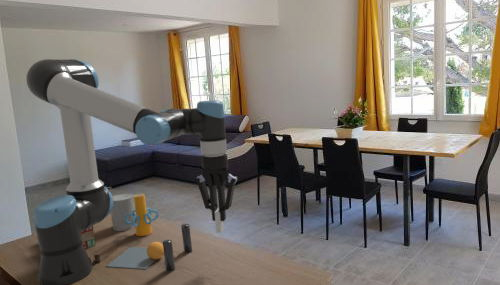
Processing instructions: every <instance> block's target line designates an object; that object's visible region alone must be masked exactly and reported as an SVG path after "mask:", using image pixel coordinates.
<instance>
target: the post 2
mask: <svg viewBox="0 0 500 285" xmlns="http://www.w3.org/2000/svg"><path fill="white" fill-rule="evenodd" d="M190 227H191V226H190V224H189V223H184V224H181V235H182V243H183V244H182V246H183V252H184V254H189V253H192V252H193V247H192V246H193V245H192V237H191V228H190Z"/></svg>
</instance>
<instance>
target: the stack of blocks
mask: <svg viewBox="0 0 500 285" xmlns="http://www.w3.org/2000/svg"><path fill="white" fill-rule="evenodd" d="M81 237H82V243H83V247H84V248H85V250H87V249H90V248H92V247H95V246H97V245H96V240H95V231H94V225H93V226H91V227H89V228H88V229H86V230H84V231H82V232H81Z"/></svg>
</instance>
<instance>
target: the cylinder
mask: <svg viewBox="0 0 500 285" xmlns="http://www.w3.org/2000/svg"><path fill="white" fill-rule="evenodd" d="M133 195H134V204H135V210H133V212H132V213H129V214H127V215H126V217H125V221H126V223H128V224H133V226H134V227H135V228H134V231H135V235H136V236H137V237H144V236H149V235H150V234H152V232H153V229H152V228H153V227H152V222H153V221H156V220H158V218H159V212H158V211H157V210H156V209H151V208H150V207H147V203H146V196H145V193H136V194H133ZM134 212H136V215H135V214H134ZM152 212H153V213H155V214H156V215H155V217H154V218H152ZM130 215H133V219H132V222H128V220H127V217H128V216H130Z"/></svg>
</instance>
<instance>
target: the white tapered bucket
mask: <svg viewBox="0 0 500 285" xmlns="http://www.w3.org/2000/svg"><path fill="white" fill-rule="evenodd" d="M134 195H135V194H133V193H132V192H131V193H127V192H126V193H119V194H118V193H117V194H114V195H112V197H113V208H112V211H111V212H110V216H111V224H112V230H113V231H115V232H124V231H131V230H132V229H135V227H134V226H133V224H128V223H126V221H125V217H126V215H127V214H129V213H132V212H133V210H135V204H134ZM134 214H135V215H136V212H134ZM132 219H133V215H130V216H128V217H127V220H128V222H132Z"/></svg>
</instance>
